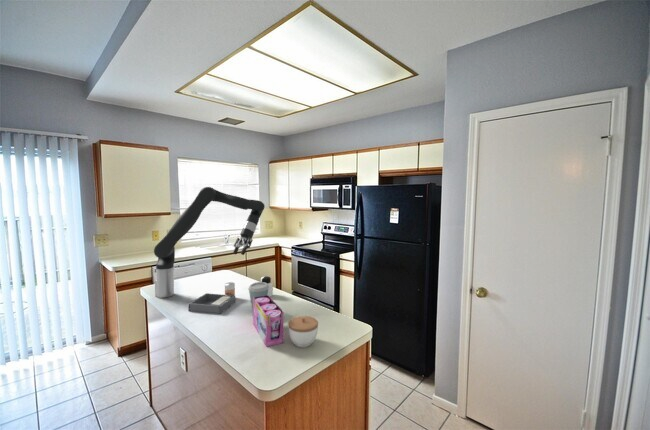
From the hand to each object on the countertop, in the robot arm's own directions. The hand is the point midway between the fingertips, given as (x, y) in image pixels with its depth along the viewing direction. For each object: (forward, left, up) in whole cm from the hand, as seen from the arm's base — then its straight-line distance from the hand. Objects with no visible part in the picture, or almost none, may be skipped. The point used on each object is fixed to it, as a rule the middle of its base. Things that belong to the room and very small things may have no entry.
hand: (238, 254), depth 167 cm
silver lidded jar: (-3, -5, -27) cm, 27 cm away
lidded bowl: (+51, -43, -27) cm, 72 cm away
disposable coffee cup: (+20, -17, -27) cm, 38 cm away
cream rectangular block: (-1, -18, -26) cm, 32 cm away
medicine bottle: (+15, +6, -27) cm, 32 cm away
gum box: (+33, -38, -27) cm, 58 cm away
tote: (-6, -18, -27) cm, 33 cm away
